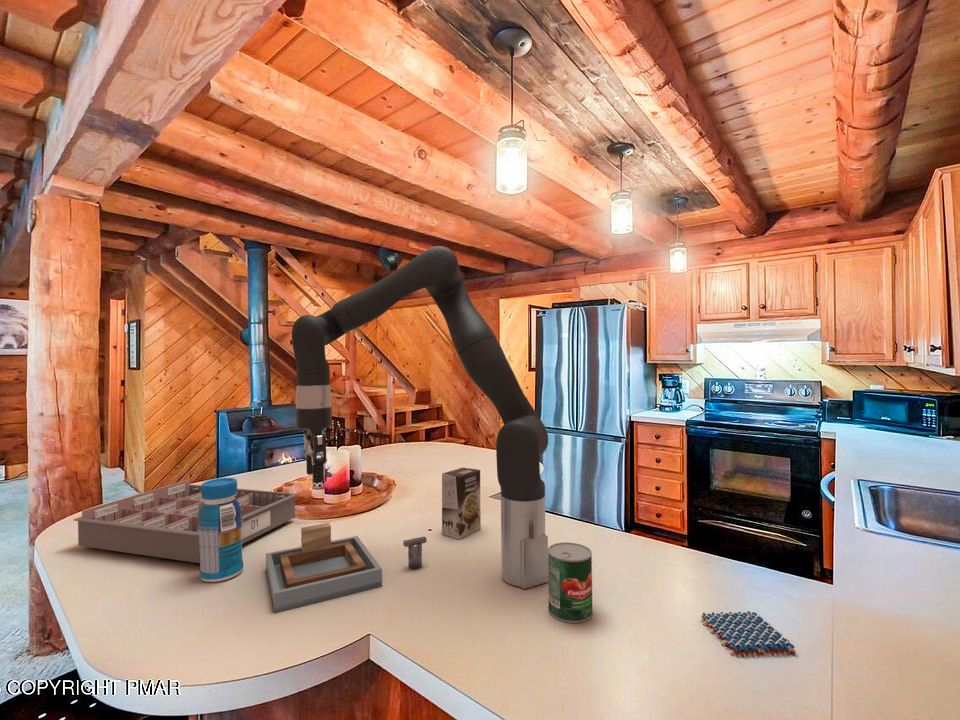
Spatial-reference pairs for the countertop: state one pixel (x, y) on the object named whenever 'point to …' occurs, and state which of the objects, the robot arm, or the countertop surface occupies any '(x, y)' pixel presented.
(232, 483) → the beverage bottle
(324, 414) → the robot arm
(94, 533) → the organizer tray
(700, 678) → the countertop surface
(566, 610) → the canned tomato
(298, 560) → the wooden frame with tab
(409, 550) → the grey metal t-shaped piece
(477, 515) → the coffee box
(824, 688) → the countertop surface
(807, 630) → the countertop surface
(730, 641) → the woven mat
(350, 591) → the tray
